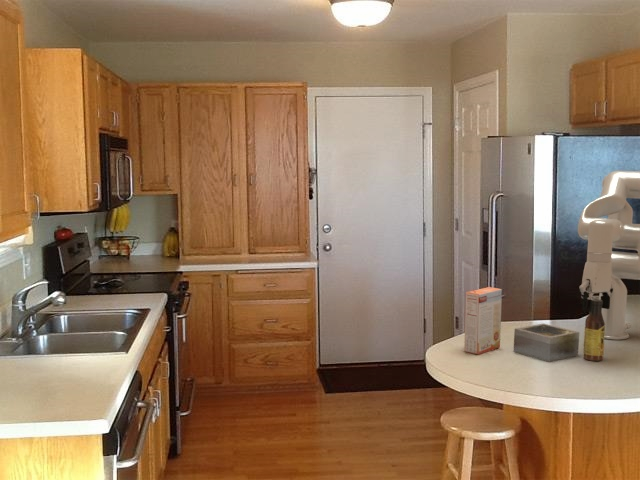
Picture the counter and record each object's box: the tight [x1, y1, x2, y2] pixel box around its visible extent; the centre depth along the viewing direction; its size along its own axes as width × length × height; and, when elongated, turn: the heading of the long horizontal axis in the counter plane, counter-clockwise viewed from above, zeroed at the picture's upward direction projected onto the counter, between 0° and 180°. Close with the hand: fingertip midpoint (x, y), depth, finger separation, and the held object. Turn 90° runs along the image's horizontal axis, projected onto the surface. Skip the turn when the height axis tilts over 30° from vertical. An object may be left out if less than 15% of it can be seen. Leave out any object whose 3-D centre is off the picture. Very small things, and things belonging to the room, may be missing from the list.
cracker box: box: [463, 286, 503, 356], centre depth 268 cm, size 14×6×21 cm, turn 134°
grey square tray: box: [513, 323, 580, 363], centre depth 266 cm, size 17×15×8 cm
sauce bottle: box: [583, 298, 605, 362], centre depth 259 cm, size 6×6×20 cm
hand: (595, 309), depth 258 cm, fingers open, 9 cm apart
